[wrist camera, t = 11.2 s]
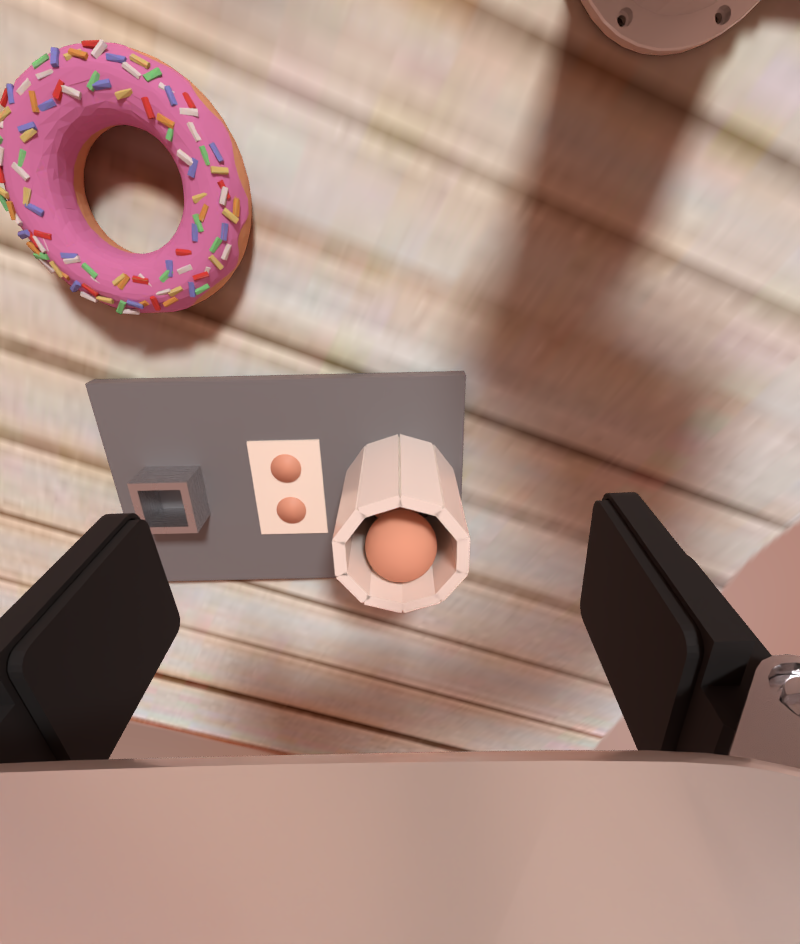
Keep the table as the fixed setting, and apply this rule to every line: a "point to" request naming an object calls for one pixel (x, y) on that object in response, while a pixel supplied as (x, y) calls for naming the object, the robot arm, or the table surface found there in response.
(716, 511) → the table surface
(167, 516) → the grey hollow block
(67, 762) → the robot arm
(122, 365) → the table surface
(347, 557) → the tube
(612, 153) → the table surface
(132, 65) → the donut
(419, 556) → the ball
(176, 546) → the board
